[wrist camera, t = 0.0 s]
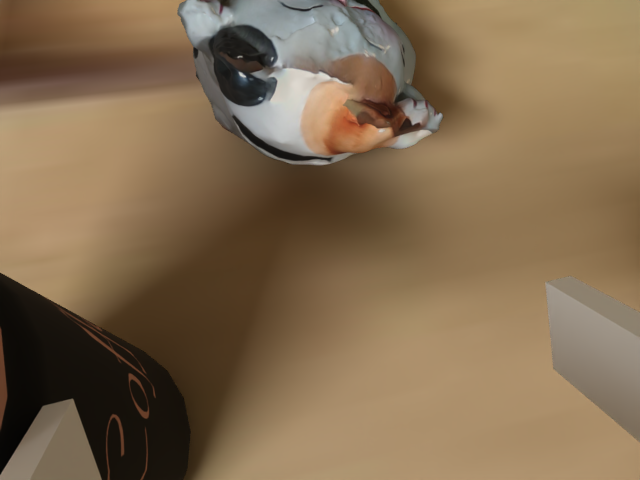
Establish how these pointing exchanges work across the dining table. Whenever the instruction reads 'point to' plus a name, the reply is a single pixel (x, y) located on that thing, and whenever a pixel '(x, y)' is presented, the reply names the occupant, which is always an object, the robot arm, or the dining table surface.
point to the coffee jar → (88, 388)
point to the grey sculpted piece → (308, 76)
